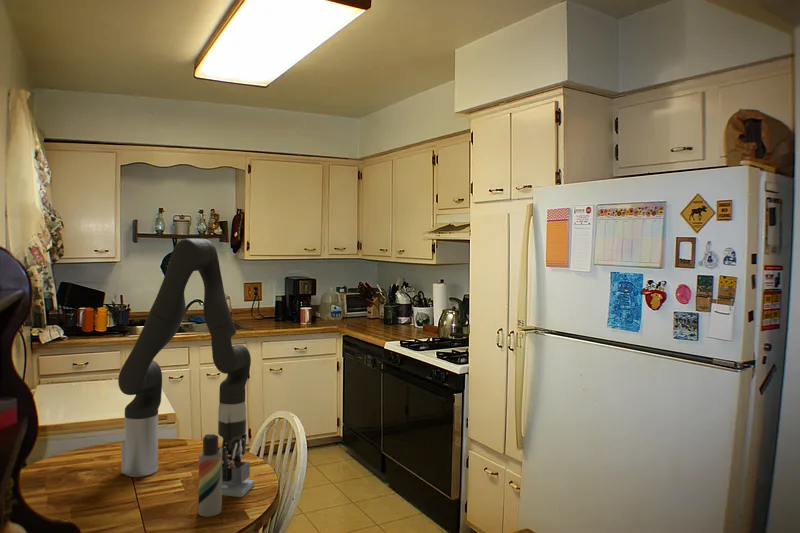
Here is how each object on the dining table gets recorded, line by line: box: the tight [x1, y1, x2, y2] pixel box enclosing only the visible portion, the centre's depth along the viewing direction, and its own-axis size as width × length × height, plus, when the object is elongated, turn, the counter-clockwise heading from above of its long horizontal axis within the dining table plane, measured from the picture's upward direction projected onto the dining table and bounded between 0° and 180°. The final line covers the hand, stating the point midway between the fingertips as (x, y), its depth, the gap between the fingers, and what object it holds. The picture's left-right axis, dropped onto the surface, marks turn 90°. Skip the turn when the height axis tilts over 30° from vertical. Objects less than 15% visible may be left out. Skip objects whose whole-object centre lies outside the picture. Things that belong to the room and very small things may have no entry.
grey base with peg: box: [222, 460, 255, 498], centre depth 166 cm, size 10×8×8 cm
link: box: [222, 459, 251, 484], centre depth 166 cm, size 8×6×4 cm
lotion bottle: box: [197, 433, 223, 518], centre depth 152 cm, size 6×6×20 cm
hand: (231, 476), depth 166 cm, fingers closed on link, 5 cm apart
